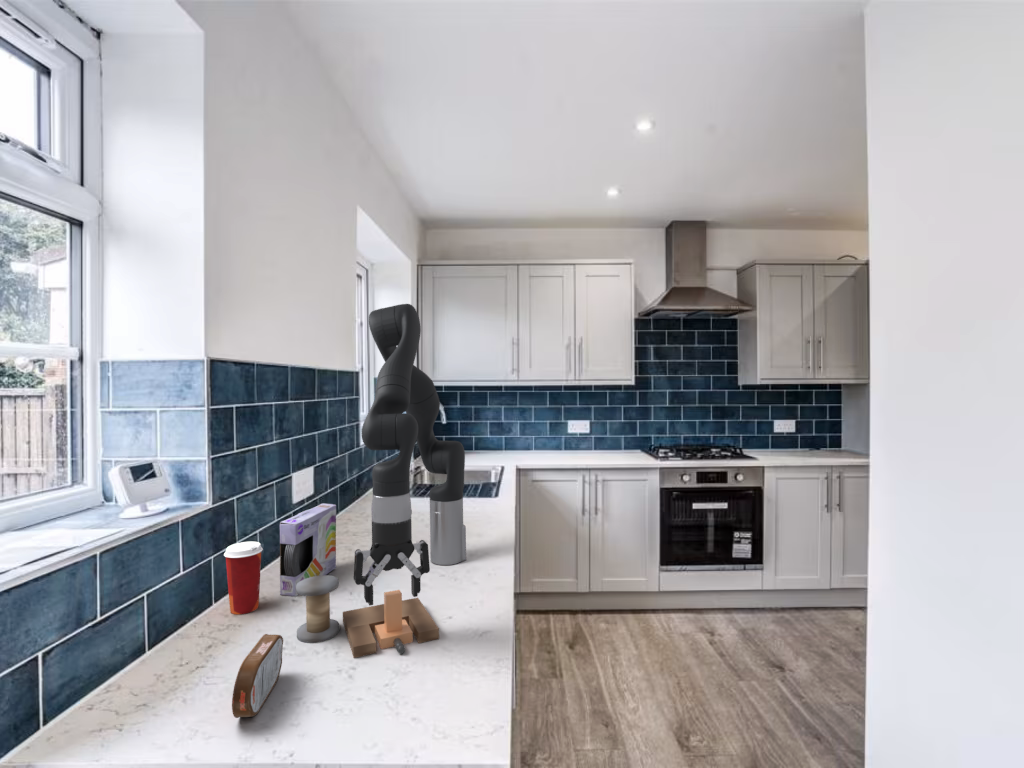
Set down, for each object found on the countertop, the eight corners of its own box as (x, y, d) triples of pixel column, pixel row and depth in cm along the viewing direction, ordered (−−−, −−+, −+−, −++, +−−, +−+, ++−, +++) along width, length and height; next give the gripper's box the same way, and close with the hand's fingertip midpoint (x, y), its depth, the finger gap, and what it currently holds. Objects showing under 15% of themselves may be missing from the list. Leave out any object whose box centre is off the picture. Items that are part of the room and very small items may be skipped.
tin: (267, 673, 90) (267, 624, 90) (286, 672, 90) (286, 623, 90) (229, 731, 75) (228, 673, 75) (252, 730, 75) (251, 671, 75)
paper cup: (271, 604, 118) (270, 542, 118) (243, 619, 110) (242, 553, 110) (244, 599, 120) (243, 539, 120) (215, 613, 113) (214, 549, 113)
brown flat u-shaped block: (418, 606, 115) (417, 597, 115) (439, 638, 101) (438, 628, 101) (342, 621, 109) (342, 611, 109) (353, 658, 94) (353, 647, 94)
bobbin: (337, 620, 109) (336, 572, 109) (341, 637, 102) (341, 586, 102) (296, 628, 106) (295, 579, 106) (297, 646, 99) (296, 593, 99)
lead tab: (405, 629, 105) (404, 584, 105) (418, 652, 96) (417, 603, 96) (374, 635, 103) (374, 590, 103) (385, 660, 94) (384, 610, 94)
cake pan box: (294, 599, 120) (293, 522, 120) (275, 597, 121) (274, 521, 121) (338, 569, 139) (337, 503, 139) (321, 568, 140) (320, 502, 140)
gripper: (422, 507, 107) (423, 586, 107) (350, 516, 101) (352, 599, 102) (432, 516, 101) (433, 600, 101) (356, 525, 95) (357, 614, 95)
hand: (392, 599), depth 101 cm, fingers open, 8 cm apart
